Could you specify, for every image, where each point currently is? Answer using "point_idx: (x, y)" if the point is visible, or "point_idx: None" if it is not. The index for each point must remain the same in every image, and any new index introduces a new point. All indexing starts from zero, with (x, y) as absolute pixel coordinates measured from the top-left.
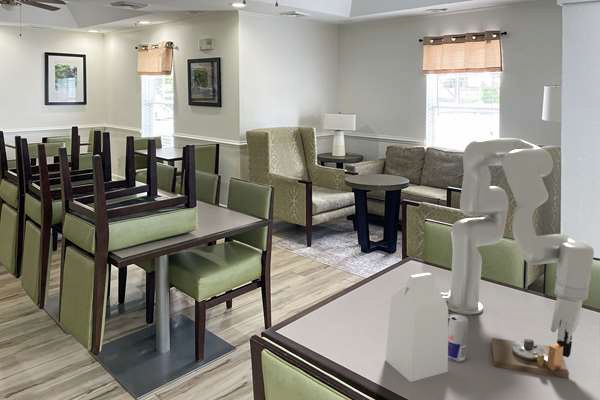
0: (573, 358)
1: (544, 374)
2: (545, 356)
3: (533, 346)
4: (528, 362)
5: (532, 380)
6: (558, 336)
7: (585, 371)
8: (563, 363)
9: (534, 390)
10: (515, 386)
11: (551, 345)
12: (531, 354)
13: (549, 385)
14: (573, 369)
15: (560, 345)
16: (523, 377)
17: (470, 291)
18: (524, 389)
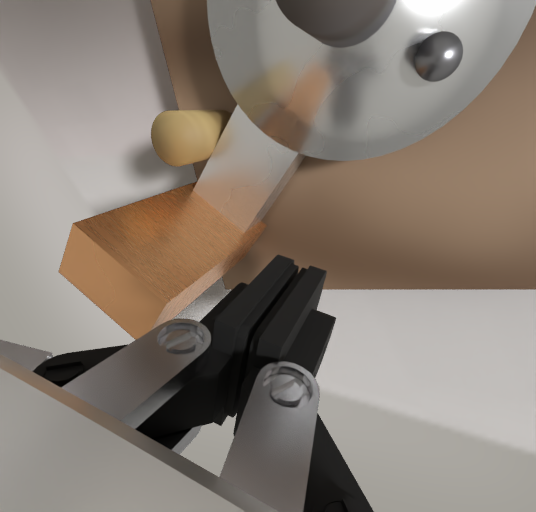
0: (525, 348)
1: None
2: (261, 170)
3: (422, 40)
4: None
5: (125, 102)
6: (52, 360)
7: (360, 368)
8: (327, 278)
9: (59, 121)
10: (28, 24)
11: (86, 243)
12: (235, 51)
13: (134, 186)
14: (354, 316)
15: (138, 323)
16: (122, 47)
17: None
18: (37, 74)
